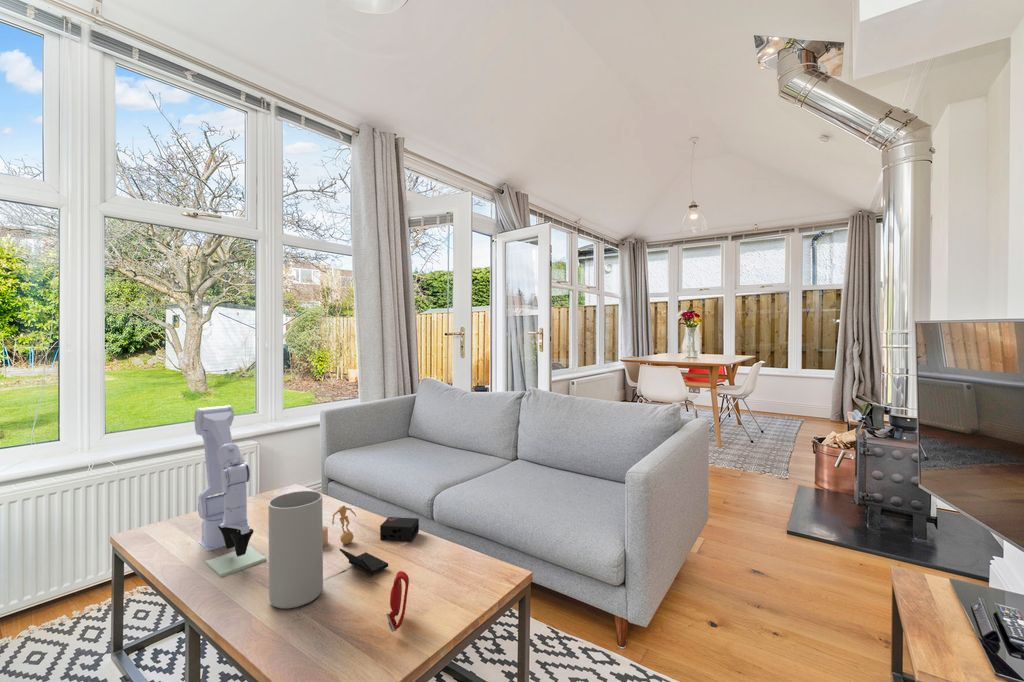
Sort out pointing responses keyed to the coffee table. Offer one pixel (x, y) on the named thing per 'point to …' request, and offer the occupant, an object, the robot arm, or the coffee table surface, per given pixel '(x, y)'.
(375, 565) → the black angular piece
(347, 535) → the figurine
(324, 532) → the pink rounded capsule
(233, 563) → the sage board
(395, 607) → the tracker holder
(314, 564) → the cylinder vase
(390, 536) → the electronic device
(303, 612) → the coffee table surface
